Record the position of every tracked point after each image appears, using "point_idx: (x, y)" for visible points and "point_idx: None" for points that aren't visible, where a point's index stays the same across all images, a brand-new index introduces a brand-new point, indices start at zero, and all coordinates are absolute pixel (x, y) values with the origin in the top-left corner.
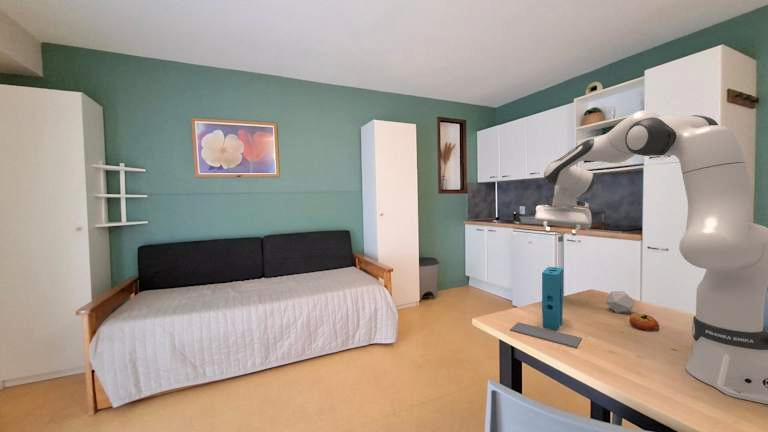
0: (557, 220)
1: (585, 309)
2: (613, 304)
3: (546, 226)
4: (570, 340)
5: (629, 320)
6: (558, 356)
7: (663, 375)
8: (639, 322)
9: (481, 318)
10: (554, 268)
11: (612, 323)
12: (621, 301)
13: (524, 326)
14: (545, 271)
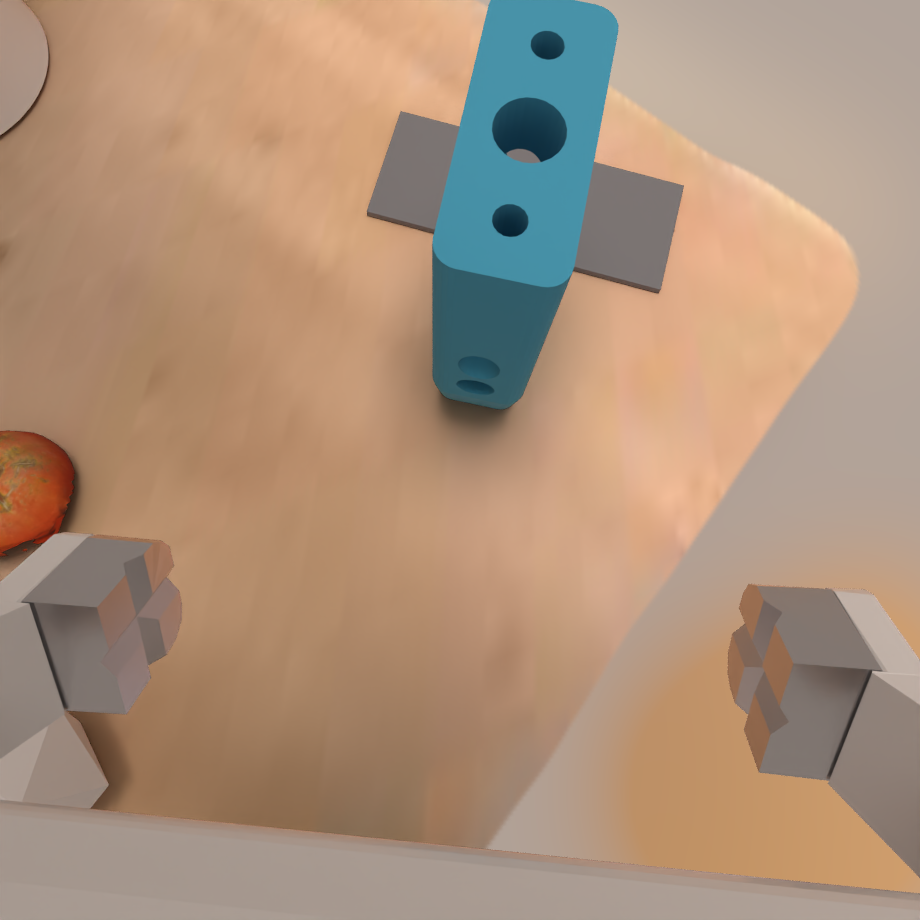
0: (604, 883)
1: (269, 712)
2: (71, 723)
3: (915, 681)
4: (419, 162)
5: (65, 507)
6: (475, 28)
7: (144, 20)
8: (29, 443)
9: (848, 291)
10: (513, 237)
11: (167, 494)
12: None
13: (622, 244)
14: (592, 68)
